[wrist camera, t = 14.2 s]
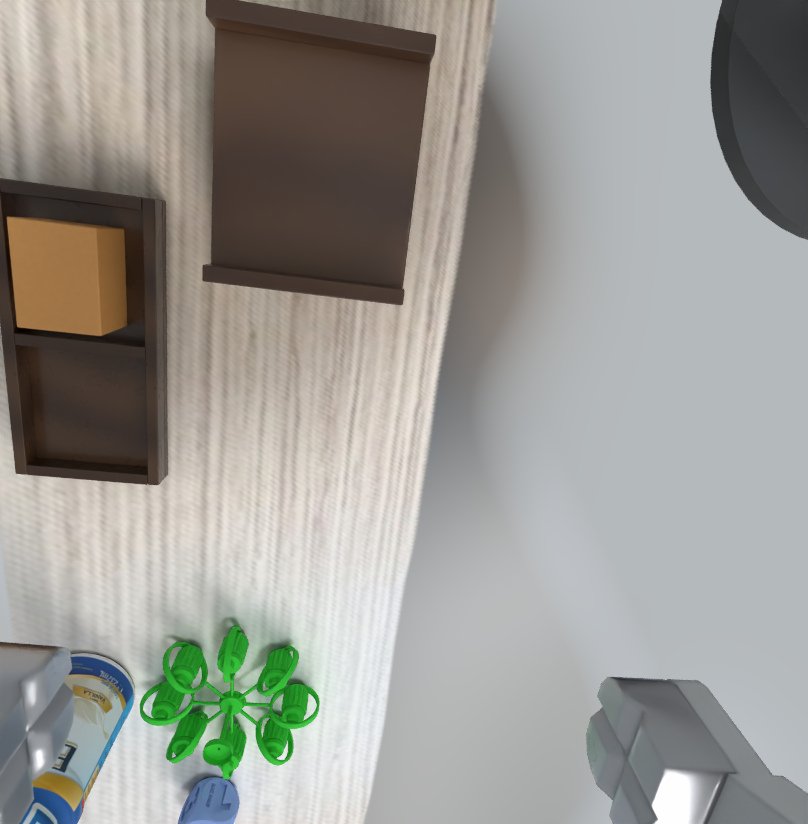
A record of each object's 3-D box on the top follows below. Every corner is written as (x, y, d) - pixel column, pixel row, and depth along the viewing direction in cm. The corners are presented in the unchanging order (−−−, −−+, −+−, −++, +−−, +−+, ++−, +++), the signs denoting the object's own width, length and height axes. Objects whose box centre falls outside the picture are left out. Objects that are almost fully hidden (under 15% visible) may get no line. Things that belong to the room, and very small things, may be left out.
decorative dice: (243, 786, 53) (234, 829, 49) (221, 811, 53) (210, 855, 50) (207, 770, 52) (195, 812, 48) (185, 795, 52) (171, 839, 49)
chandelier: (316, 748, 52) (309, 823, 45) (154, 745, 50) (122, 822, 44) (326, 619, 47) (319, 682, 40) (148, 611, 46) (111, 675, 39)
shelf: (5, 179, 35) (-16, 176, 33) (165, 200, 36) (154, 199, 34) (31, 462, 41) (15, 474, 39) (168, 474, 42) (158, 485, 40)
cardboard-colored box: (44, 218, 35) (5, 216, 31) (124, 228, 36) (96, 227, 32) (52, 318, 37) (16, 328, 33) (127, 326, 38) (101, 337, 34)
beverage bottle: (49, 726, 49) (-152, 1039, 30) (29, 650, 46) (-205, 942, 27) (145, 720, 49) (8, 1025, 30) (131, 646, 47) (-29, 928, 28)
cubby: (257, 71, 34) (205, -7, 23) (414, 96, 35) (436, 34, 24) (249, 267, 37) (202, 281, 27) (392, 285, 38) (402, 305, 28)
